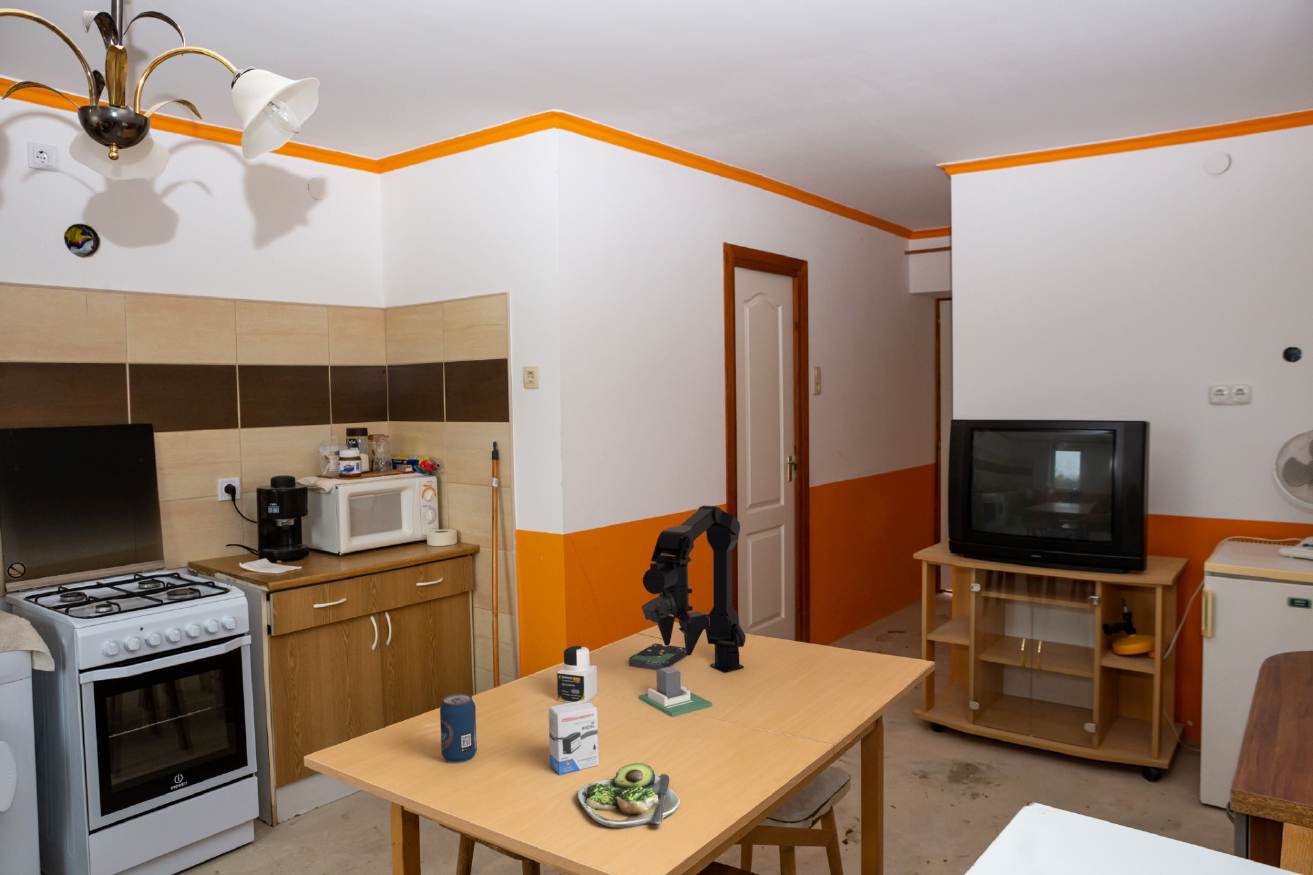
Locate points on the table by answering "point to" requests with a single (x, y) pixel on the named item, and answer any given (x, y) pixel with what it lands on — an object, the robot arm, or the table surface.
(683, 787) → the table surface
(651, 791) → the avocado toast plate
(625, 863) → the table surface
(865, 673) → the table surface
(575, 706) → the ink box
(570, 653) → the medicine bottle
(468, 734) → the soda can
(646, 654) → the disk drive
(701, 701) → the board
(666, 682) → the plug
